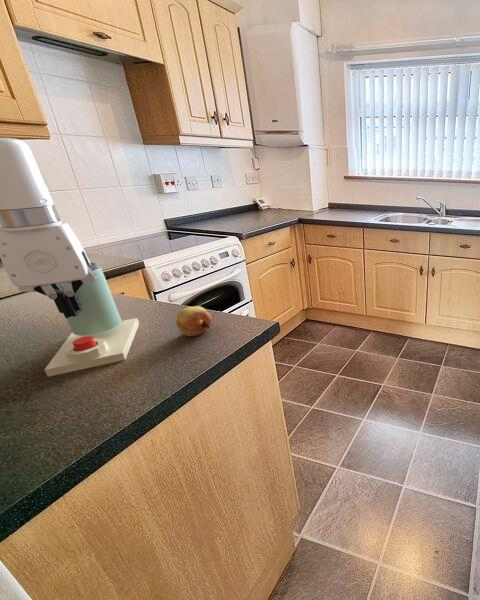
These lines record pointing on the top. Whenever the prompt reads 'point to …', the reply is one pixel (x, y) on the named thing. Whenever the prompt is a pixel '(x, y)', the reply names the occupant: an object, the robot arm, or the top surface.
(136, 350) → the top surface
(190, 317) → the fruit
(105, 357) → the kettle base
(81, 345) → the switch
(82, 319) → the kettle
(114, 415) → the top surface
